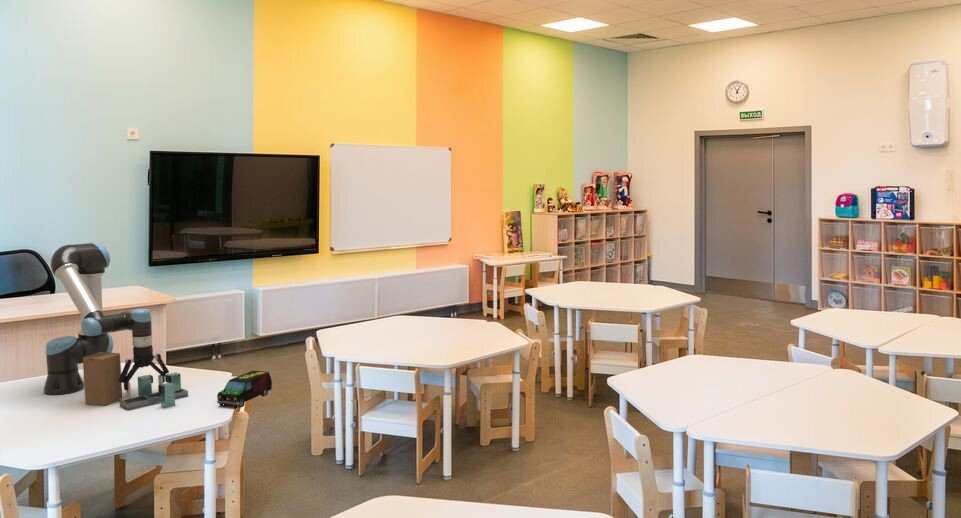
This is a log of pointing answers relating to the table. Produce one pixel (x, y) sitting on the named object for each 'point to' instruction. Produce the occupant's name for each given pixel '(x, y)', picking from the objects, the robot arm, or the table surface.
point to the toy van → (245, 388)
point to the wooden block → (102, 378)
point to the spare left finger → (167, 394)
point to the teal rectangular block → (145, 385)
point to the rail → (155, 394)
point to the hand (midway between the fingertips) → (145, 393)
